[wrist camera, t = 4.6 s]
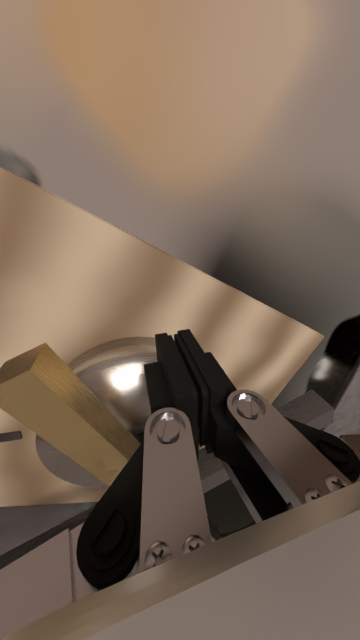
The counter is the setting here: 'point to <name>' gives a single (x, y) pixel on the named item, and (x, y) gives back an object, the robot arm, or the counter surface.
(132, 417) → the capstan
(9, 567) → the robot arm
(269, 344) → the stand plate
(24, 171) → the counter surface
